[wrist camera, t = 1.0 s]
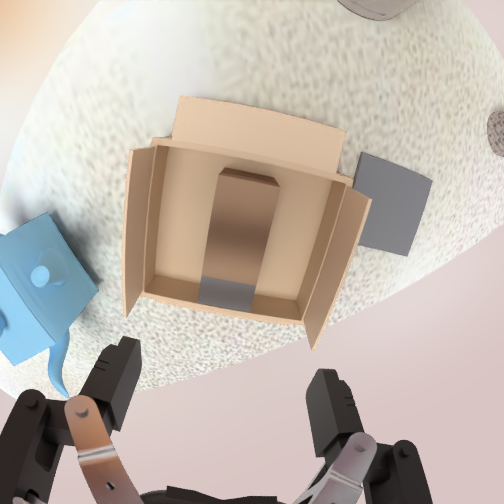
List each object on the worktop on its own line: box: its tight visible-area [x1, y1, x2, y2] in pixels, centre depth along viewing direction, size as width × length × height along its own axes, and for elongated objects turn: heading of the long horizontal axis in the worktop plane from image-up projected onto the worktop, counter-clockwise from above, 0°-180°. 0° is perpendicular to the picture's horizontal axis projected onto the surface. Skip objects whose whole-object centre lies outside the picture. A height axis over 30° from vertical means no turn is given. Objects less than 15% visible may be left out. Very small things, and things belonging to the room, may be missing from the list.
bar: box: [198, 167, 281, 312], centre depth 26 cm, size 12×5×6 cm, turn 168°
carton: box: [122, 96, 372, 351], centre depth 25 cm, size 20×18×10 cm
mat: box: [352, 152, 433, 256], centre depth 29 cm, size 10×10×1 cm
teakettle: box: [0, 212, 99, 398], centre depth 25 cm, size 19×19×15 cm
